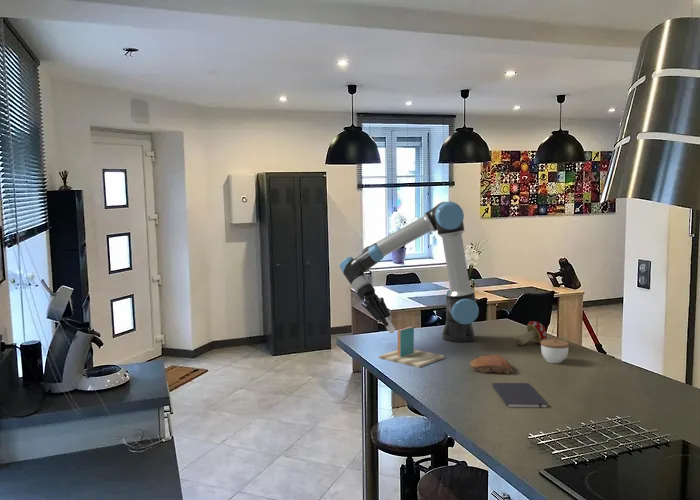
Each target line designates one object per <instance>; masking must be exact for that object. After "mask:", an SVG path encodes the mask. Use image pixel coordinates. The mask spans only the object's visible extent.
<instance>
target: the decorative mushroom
mask: <svg viewBox="0 0 700 500" xmlns="http://www.w3.org/2000/svg"><path fill="white" fill-rule="evenodd" d="M526 331H527V332H526V333H524V334H521V335H518V336H516V338H515V342H516V344H517V345H519V346H524V345H525V344H527V343H529V341H531V340H532V341H533V342H534V343H535V344H537V345H538V344H539V345H541V341H542V340H546V339H547V338H548V335H547V334H548V332H547V330H546V327H545V326H544V325H543V324H542V323H541V322H539V321H535V320H532V321H528V323H527V325H526Z"/></svg>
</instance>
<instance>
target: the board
mask: <svg viewBox="0 0 700 500" xmlns="http://www.w3.org/2000/svg"><path fill="white" fill-rule="evenodd" d="M444 358H445V355H443V354H438V353H434V352H433V353H432V352H429V351H426V350H425V351H424V350H418V349H415V348H414V353H411V354H408V355H405V356H402V357H399V356H398V349H396V350H394V351H390V352H385V353H383V354H381V355H378V359H380V360H385V361H389V362H393V363H398V364H401V365H402V364H403V365H405V366H406V365H408V366H411V367H415V368H421V367H423V366H427V365H429V364H432V363H434V362H437V361H440V360H443V359H444Z"/></svg>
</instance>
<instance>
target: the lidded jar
mask: <svg viewBox="0 0 700 500" xmlns="http://www.w3.org/2000/svg"><path fill="white" fill-rule="evenodd" d="M569 343H570V342H568V341H565V340H561V339H557V338H555V337H553V339H551V338H548V339H547V338H546V340H542V341H541V344H540V351H541V356H542V357H543V358H544V360H545V361H546V362H547V363H551V364H561V363H563V362H564V361H565V360H566V358H567V357H568V354H569V347H570V344H569Z"/></svg>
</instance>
